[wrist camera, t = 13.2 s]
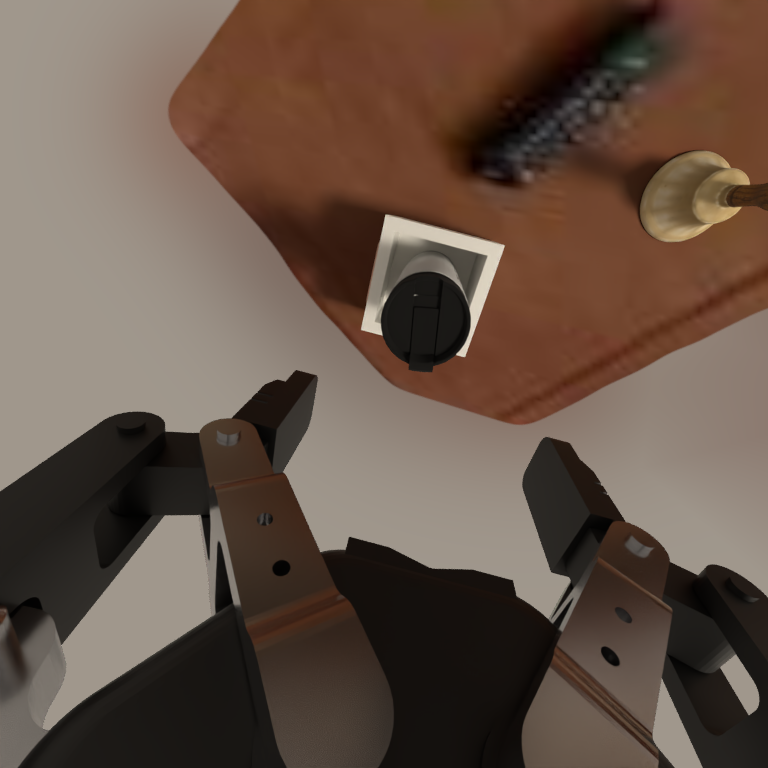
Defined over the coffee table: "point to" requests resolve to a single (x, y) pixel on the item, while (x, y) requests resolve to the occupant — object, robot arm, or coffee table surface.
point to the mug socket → (413, 237)
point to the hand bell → (696, 196)
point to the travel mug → (426, 313)
